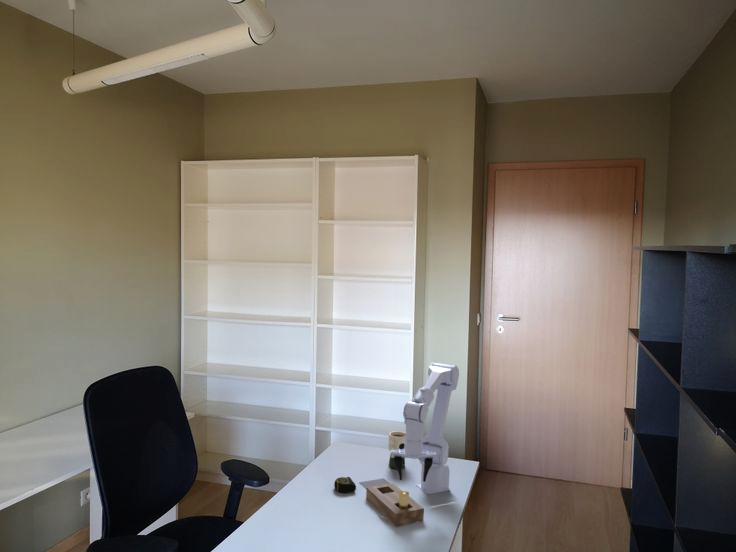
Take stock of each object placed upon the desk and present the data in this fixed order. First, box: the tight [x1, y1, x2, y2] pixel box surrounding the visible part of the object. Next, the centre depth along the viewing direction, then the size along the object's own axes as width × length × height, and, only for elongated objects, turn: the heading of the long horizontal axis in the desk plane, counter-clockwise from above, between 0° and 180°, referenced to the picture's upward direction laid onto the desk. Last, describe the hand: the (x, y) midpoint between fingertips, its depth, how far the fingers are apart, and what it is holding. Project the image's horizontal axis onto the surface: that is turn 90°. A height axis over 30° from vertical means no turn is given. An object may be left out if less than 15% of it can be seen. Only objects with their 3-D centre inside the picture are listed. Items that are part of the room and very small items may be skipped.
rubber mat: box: [358, 477, 390, 491], centre depth 203 cm, size 10×10×1 cm
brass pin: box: [399, 490, 410, 510], centre depth 181 cm, size 3×3×8 cm
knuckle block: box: [365, 482, 425, 528], centre depth 187 cm, size 10×20×4 cm, turn 27°
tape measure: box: [333, 476, 357, 494], centre depth 199 cm, size 7×7×4 cm
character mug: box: [388, 430, 406, 470], centre depth 221 cm, size 11×7×13 cm, turn 144°
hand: (412, 479), depth 188 cm, fingers open, 7 cm apart
